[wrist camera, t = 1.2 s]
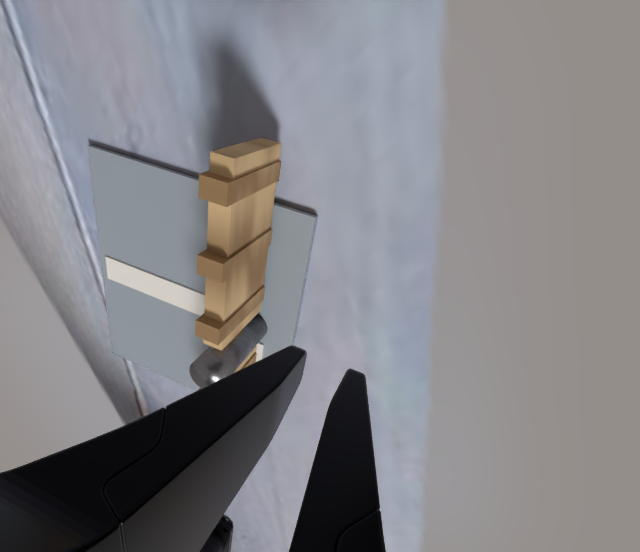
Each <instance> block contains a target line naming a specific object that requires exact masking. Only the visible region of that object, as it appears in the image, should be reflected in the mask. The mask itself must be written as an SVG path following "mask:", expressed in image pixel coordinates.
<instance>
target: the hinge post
mask: <svg viewBox="0 0 640 552" xmlns="http://www.w3.org/2000/svg"><path fill="white" fill-rule="evenodd" d="M266 333H267V324H266V322H265V320H264V319H263V318H262V317H261V316H260V315H259V314H257V315H256V316H255V317H254V318H253V319H252V320H251V321H250V322H249V323H248V324H247V325H246V326H245V327H244V328H243V329H242V330H241V331H240V332H239V333H238V334H237V335H236V336H235V337H234V339H233V340H232V341H231V342H230V343H229V344H228V345H227V346H226V347H225V348H224V349H223V350H222V351H221V350H218V349H216V348H214V347H211V346H209V347H208V348H207V349H206V350H205V351H204V352H203V353H202V354H201V355H200V356H199V357H198V358H197V359H196V360H195V361H194V362H193V363H192V364H191V365H190V367H189V372H190V376H191V378H192V379H193V381H194V382H195V383H196V384H197V385H198V386H199V387H200V388H204V387H206V386H208V385H210V384H212V383H214V382H216V381H218V380H220V379H222V378H224V377H226V376H229V375H231V374H233V372H234V371H235V370H236V369H237V368H238V367H239V365H240V364H241V363H242V362H243V361H244V360H245V358H246V357H247V356H248V355H249V354H250V353H251V351H252V350H253V349H254V348H255V347H256V345H257V344H258V343H259V342H260V341H261V340H262V338H263V337H264V336H265V335H266Z"/></svg>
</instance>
